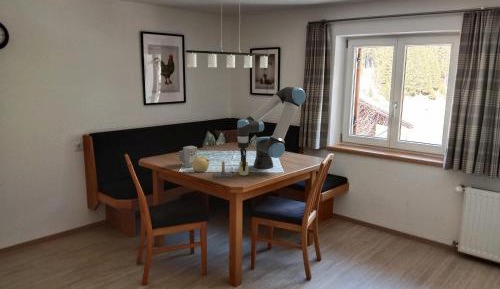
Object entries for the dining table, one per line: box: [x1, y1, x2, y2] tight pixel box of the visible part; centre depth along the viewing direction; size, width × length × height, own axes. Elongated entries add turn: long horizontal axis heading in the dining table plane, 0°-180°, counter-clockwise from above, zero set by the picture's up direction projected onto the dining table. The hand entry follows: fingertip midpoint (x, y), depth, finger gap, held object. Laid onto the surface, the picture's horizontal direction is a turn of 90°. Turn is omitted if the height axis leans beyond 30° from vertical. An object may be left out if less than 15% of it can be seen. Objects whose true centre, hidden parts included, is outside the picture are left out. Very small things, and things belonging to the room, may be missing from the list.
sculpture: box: [192, 156, 210, 173], centre depth 282 cm, size 11×12×11 cm
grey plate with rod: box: [214, 161, 233, 179], centre depth 270 cm, size 12×10×10 cm
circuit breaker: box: [178, 145, 198, 169], centre depth 296 cm, size 8×14×15 cm, turn 51°
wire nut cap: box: [238, 161, 249, 176], centre depth 272 cm, size 6×6×8 cm
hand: (243, 173), depth 273 cm, fingers closed on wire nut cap, 6 cm apart
